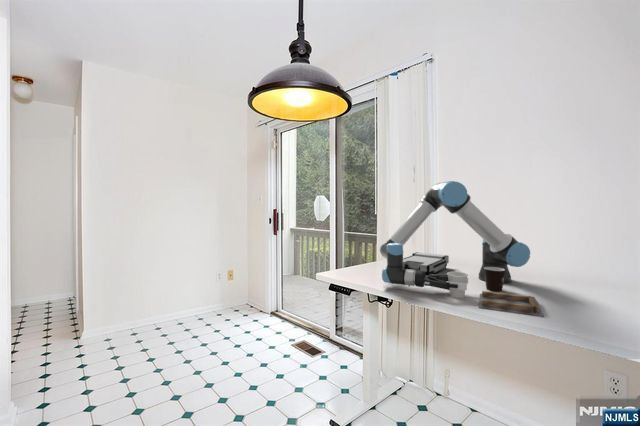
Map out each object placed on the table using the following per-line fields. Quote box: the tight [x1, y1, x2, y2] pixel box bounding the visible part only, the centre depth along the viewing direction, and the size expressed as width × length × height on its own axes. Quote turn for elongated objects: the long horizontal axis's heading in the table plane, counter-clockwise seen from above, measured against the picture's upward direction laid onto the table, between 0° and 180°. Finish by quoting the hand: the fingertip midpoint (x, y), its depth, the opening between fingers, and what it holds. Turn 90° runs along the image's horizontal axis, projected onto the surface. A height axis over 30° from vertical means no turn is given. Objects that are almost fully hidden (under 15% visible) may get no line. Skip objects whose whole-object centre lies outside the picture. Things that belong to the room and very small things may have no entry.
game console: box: [403, 251, 450, 276], centre depth 188 cm, size 21×32×8 cm, turn 140°
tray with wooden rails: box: [478, 290, 545, 318], centre depth 126 cm, size 21×20×2 cm
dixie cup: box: [446, 271, 469, 299], centre depth 137 cm, size 8×8×10 cm
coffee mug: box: [484, 267, 505, 293], centre depth 147 cm, size 12×9×10 cm
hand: (467, 283), depth 135 cm, fingers open, 11 cm apart
